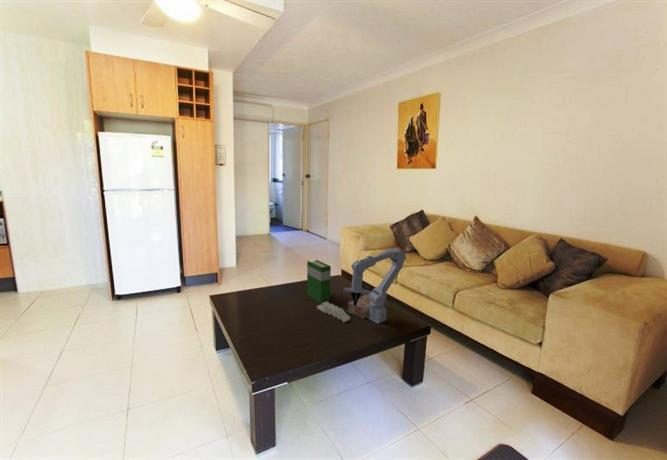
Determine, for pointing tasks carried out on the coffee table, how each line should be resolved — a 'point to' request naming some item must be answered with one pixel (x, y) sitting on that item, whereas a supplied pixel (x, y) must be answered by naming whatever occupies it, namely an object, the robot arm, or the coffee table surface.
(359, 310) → the stack of blocks
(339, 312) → the domino
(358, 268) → the robot arm
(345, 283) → the coffee table surface
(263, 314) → the coffee table surface
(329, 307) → the domino
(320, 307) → the domino
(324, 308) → the domino
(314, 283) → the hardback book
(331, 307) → the domino
